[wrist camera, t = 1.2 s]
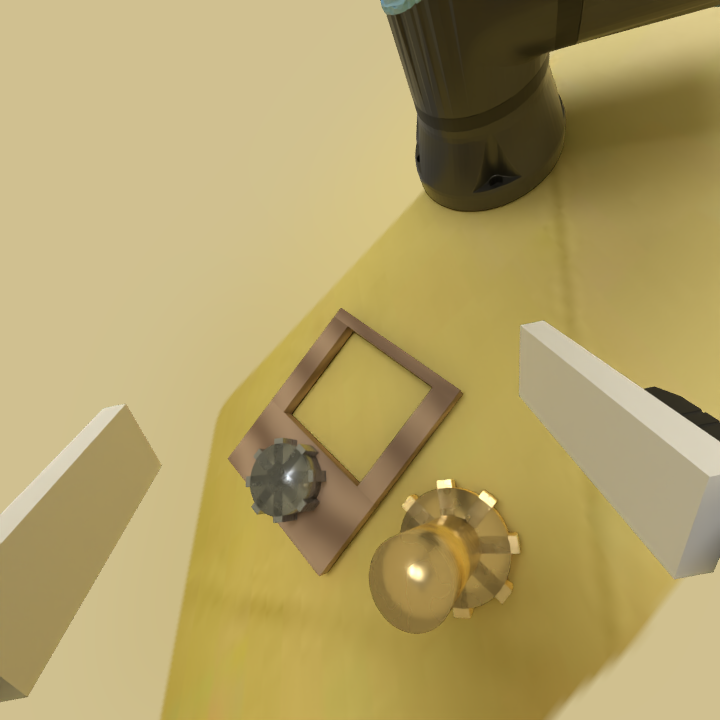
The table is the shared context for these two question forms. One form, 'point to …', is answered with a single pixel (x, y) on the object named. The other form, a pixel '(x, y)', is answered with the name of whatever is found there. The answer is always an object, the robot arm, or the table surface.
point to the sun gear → (285, 480)
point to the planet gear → (443, 559)
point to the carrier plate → (340, 490)
